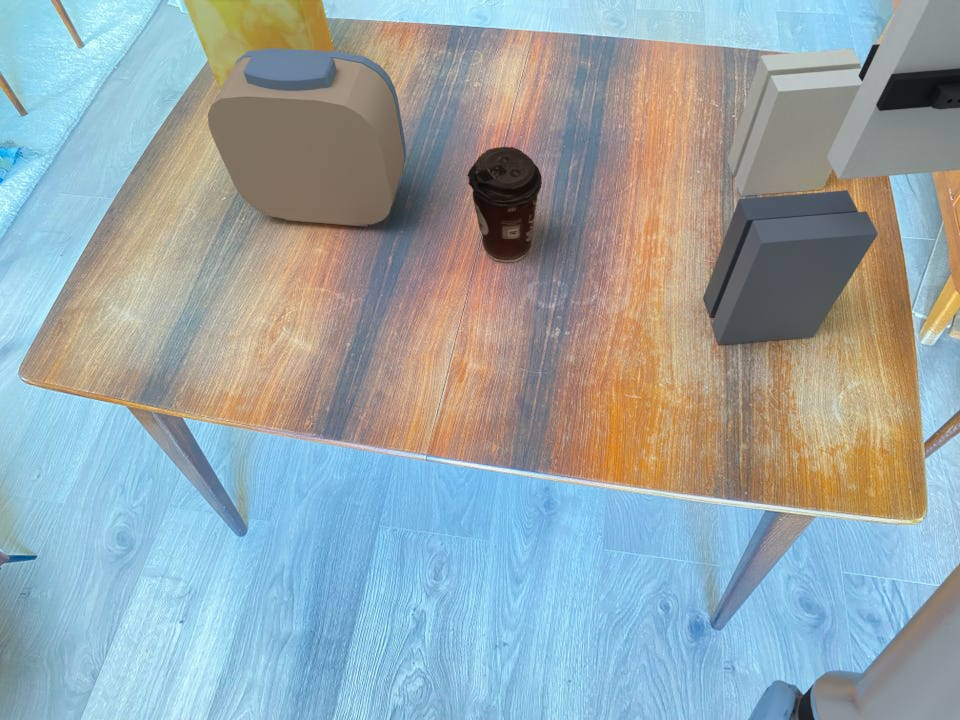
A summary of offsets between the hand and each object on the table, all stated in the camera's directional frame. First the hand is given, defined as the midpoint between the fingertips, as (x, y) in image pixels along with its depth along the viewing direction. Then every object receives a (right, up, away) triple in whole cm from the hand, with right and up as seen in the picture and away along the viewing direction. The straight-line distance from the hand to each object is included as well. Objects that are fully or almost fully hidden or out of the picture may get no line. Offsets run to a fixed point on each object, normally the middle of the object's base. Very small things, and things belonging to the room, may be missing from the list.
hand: (876, 77), depth 53 cm
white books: (+9, +3, +40) cm, 42 cm away
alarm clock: (-51, 0, +41) cm, 66 cm away
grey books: (+2, -17, +28) cm, 32 cm away
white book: (+6, -4, +7) cm, 11 cm away
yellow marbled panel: (-62, +24, +58) cm, 88 cm away
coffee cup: (-27, -7, +36) cm, 46 cm away
